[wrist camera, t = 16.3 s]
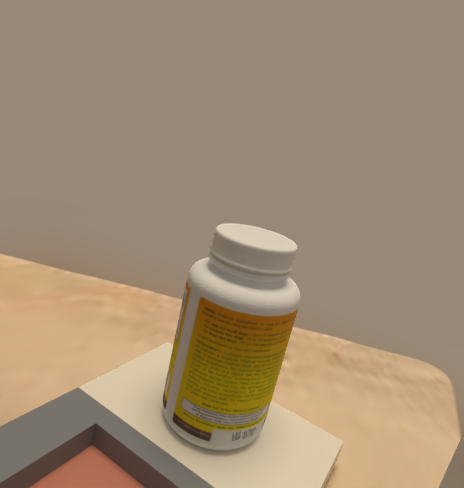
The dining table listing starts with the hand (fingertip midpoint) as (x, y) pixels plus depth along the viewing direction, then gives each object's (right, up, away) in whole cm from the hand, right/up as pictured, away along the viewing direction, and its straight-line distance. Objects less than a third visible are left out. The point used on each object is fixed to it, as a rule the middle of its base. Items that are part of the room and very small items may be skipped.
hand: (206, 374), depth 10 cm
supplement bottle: (0, -5, +10) cm, 11 cm away
